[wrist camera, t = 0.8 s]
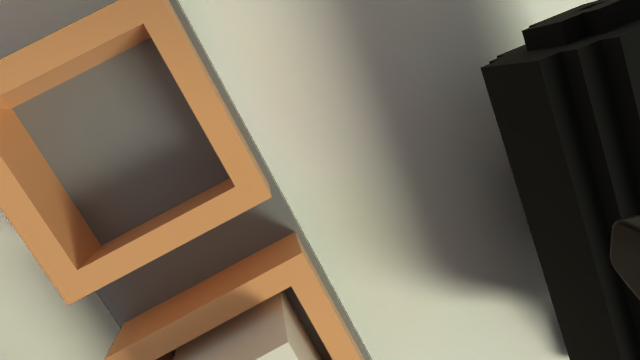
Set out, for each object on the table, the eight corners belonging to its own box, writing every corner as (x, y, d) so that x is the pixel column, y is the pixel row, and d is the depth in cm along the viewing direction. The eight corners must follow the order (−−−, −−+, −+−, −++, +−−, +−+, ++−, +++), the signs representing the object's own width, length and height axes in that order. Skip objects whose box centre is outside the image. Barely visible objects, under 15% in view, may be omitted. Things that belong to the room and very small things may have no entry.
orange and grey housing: (383, 379, 26) (432, 483, 19) (228, 465, 25) (221, 603, 18) (176, -3, 21) (141, -50, 14) (-16, 94, 21) (-147, 94, 14)
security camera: (536, 380, 27) (699, 543, 17) (430, 57, 23) (563, 29, 13) (647, 330, 27) (867, 459, 18) (561, 4, 24) (782, -60, 14)
